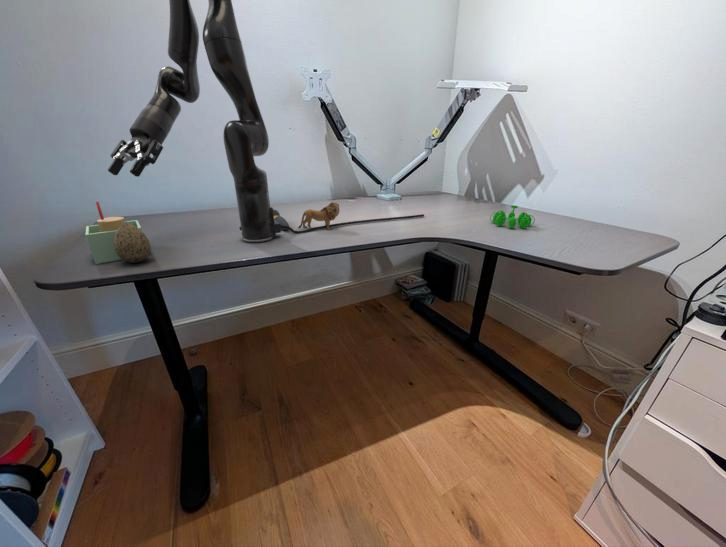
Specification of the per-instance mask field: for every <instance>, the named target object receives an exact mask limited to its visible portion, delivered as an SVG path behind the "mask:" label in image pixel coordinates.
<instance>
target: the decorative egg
mask: <svg viewBox="0 0 726 547" xmlns="http://www.w3.org/2000/svg"><path fill="white" fill-rule="evenodd" d="M114 248H115V251H116V253H117V254H118V256H119V257H120V258H121V259H122V261H124V262H127V263H130V264H139V263H141V262H144V261H145V260H146V259H147V258H148V257H149V256H150V253H151V242H150V239H149V238H148V237H147V235H146V234H145V232H143V230H142V231H141V230H140V229H138V228H137V227H135V226H133V225H132V224H129V223H124V224H122V225H121V226H120V227H119V229H118V230H117V232H116V234H115V237H114Z"/></svg>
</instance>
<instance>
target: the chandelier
mask: <svg viewBox="0 0 726 547" xmlns="http://www.w3.org/2000/svg"><path fill="white" fill-rule="evenodd" d="M510 208H513V210H511V211H510V212H509V213H508V216H507V214H506V212H505V210H498V211H494V212H492V214H491V215H490V216H489V220H490V222H491V223H492V224H495V225H496V226H497V227H502V226H504V225H505V223H506V221H508V224H507V226H508V227H509V228H510V229H513V228H515V227H516V223H517V222H518V223H517V224H518V227H519V228H520V229H523V230H525V229H527V228H528V227H532V226H533V225H534V224H535V222H536V219H535V217H534V216H533V215H532V214H528V213H527V212H526V211H523V212H520V214H519V215H518V217H517V218H516V217H515V216H516V213H515V209H518V208H519V206H518V205H510ZM492 216H493V217H492ZM532 218H533V222H532Z"/></svg>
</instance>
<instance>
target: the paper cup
mask: <svg viewBox="0 0 726 547" xmlns="http://www.w3.org/2000/svg"><path fill="white" fill-rule="evenodd" d="M95 206H96V208H97V211H98V214H99V217H100V218H99V219H97V220H96V223H97V225H99V228H100V231H101V232H108V231H115V230H118V229H119V227H120V226H121V225H122V224H124V223H125V222H126V220H125V217H123V216H108V217H104V214H103V211H102V207H101V205H100V202H99V201H95Z"/></svg>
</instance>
